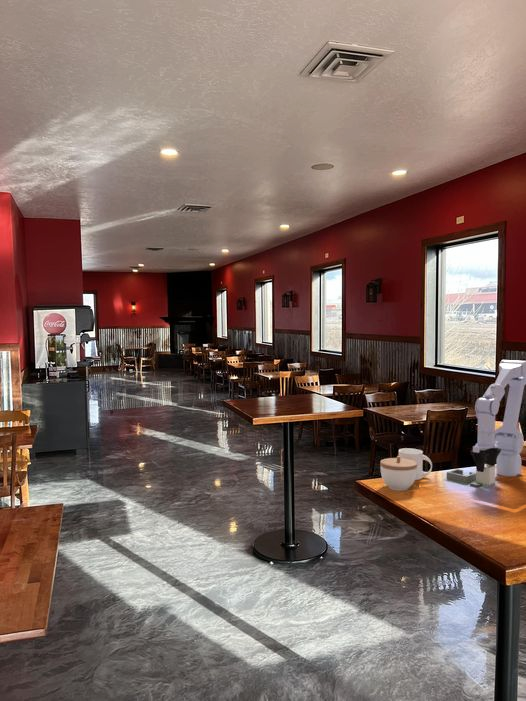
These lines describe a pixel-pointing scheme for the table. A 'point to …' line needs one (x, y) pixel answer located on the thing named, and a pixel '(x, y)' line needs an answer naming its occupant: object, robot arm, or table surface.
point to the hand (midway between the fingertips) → (485, 469)
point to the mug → (416, 460)
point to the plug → (486, 475)
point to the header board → (465, 479)
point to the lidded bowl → (398, 473)
